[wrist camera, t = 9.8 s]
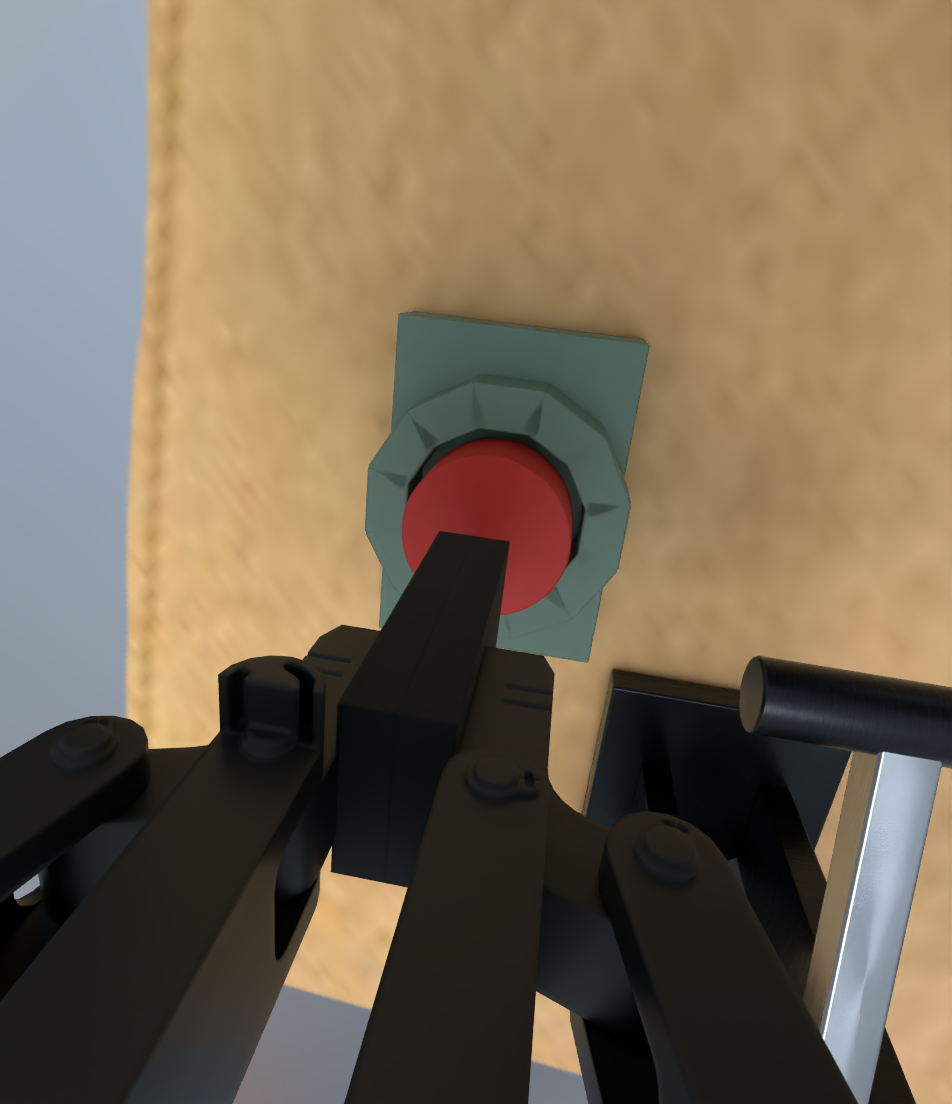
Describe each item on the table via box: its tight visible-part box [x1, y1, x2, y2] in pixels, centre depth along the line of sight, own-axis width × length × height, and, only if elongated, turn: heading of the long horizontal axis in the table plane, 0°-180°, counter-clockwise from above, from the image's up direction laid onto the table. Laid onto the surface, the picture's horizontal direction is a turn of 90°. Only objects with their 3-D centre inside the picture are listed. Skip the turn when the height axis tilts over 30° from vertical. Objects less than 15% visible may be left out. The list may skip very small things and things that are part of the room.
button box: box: [365, 311, 649, 662], centre depth 21 cm, size 10×7×4 cm
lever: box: [739, 656, 952, 1104], centre depth 13 cm, size 13×6×2 cm, turn 174°
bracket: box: [582, 670, 916, 1104], centre depth 19 cm, size 10×8×15 cm
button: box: [402, 438, 573, 616], centre depth 19 cm, size 4×4×2 cm
